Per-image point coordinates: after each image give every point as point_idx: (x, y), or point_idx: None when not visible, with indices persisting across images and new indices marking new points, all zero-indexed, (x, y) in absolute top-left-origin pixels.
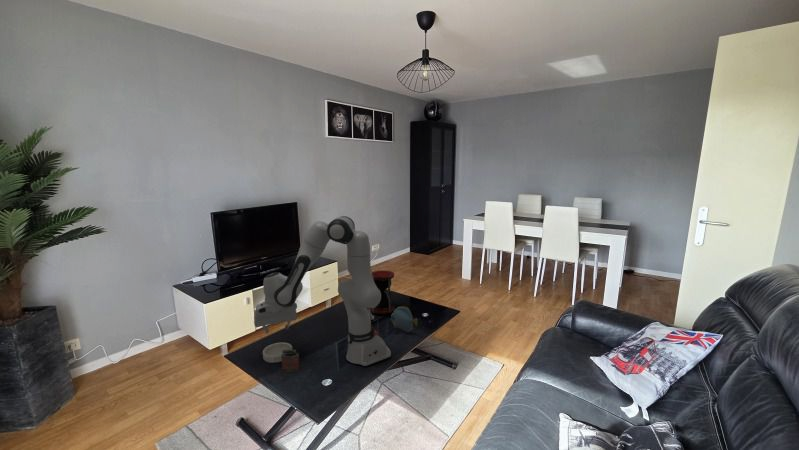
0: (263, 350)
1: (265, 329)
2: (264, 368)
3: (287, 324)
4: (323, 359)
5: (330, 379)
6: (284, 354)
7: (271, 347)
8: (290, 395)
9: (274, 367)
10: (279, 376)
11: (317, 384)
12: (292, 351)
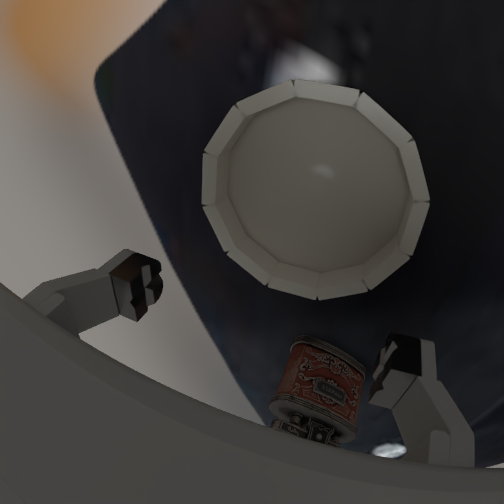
0: (209, 151)
1: (99, 318)
2: (220, 277)
3: (409, 412)
4: (479, 374)
5: (403, 450)
6: (288, 408)
7: (281, 102)
8: None
9: (266, 300)
10: (271, 365)
11: (361, 447)
12: None
